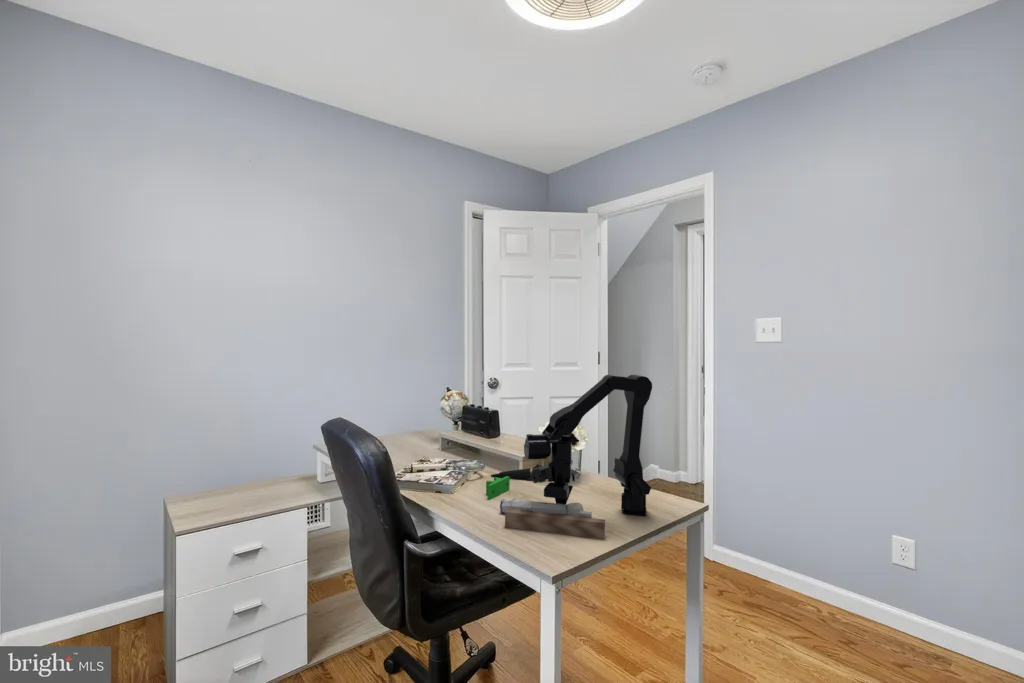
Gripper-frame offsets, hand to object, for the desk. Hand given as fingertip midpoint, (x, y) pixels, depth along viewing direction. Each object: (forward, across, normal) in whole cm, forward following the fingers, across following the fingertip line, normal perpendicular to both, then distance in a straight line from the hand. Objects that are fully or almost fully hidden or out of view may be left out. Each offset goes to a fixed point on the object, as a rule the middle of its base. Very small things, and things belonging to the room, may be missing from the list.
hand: (560, 512), depth 136 cm
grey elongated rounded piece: (+2, +3, -4) cm, 6 cm away
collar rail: (+1, +10, 0) cm, 10 cm away
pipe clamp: (+2, -13, -23) cm, 27 cm away
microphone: (+2, -32, -20) cm, 38 cm away
